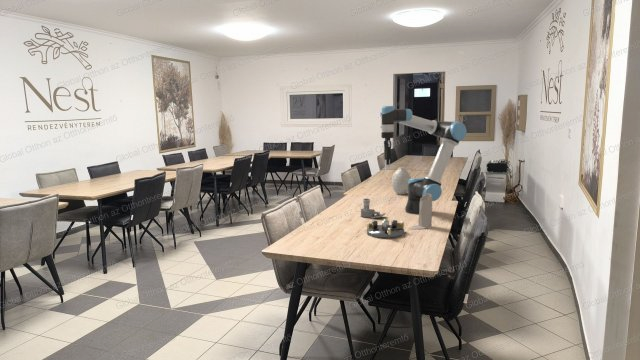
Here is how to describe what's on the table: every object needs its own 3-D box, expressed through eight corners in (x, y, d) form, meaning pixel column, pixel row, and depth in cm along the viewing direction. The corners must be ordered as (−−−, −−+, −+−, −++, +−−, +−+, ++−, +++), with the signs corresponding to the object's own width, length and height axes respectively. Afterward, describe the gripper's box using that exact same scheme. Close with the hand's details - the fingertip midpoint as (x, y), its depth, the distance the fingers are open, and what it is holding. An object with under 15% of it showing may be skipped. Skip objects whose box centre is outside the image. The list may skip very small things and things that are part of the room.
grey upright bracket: (407, 227, 249) (407, 194, 246) (426, 224, 254) (427, 192, 251) (414, 230, 243) (414, 196, 239) (434, 227, 248) (434, 194, 245)
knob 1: (374, 226, 244) (374, 219, 243) (378, 227, 241) (378, 220, 240) (365, 229, 238) (365, 222, 238) (369, 230, 236) (369, 223, 235)
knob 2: (384, 231, 233) (384, 224, 233) (389, 231, 233) (389, 224, 233) (386, 235, 226) (386, 228, 225) (392, 235, 226) (392, 227, 225)
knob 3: (390, 227, 241) (390, 220, 241) (393, 226, 244) (393, 219, 243) (402, 230, 236) (402, 222, 235) (405, 228, 238) (405, 221, 238)
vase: (388, 192, 354) (389, 166, 351) (407, 191, 356) (408, 165, 352) (394, 196, 338) (394, 168, 335) (413, 195, 340) (414, 168, 337)
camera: (364, 197, 279) (385, 199, 272) (364, 214, 281) (385, 217, 274) (359, 200, 271) (381, 202, 265) (359, 217, 274) (381, 220, 267)
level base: (400, 227, 249) (400, 214, 248) (407, 238, 228) (408, 223, 227) (364, 228, 249) (364, 215, 247) (369, 239, 228) (369, 224, 227)
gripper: (379, 131, 262) (379, 168, 266) (383, 132, 250) (383, 171, 253) (391, 130, 262) (391, 168, 266) (395, 131, 250) (395, 171, 253)
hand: (387, 169), depth 260 cm, fingers closed
